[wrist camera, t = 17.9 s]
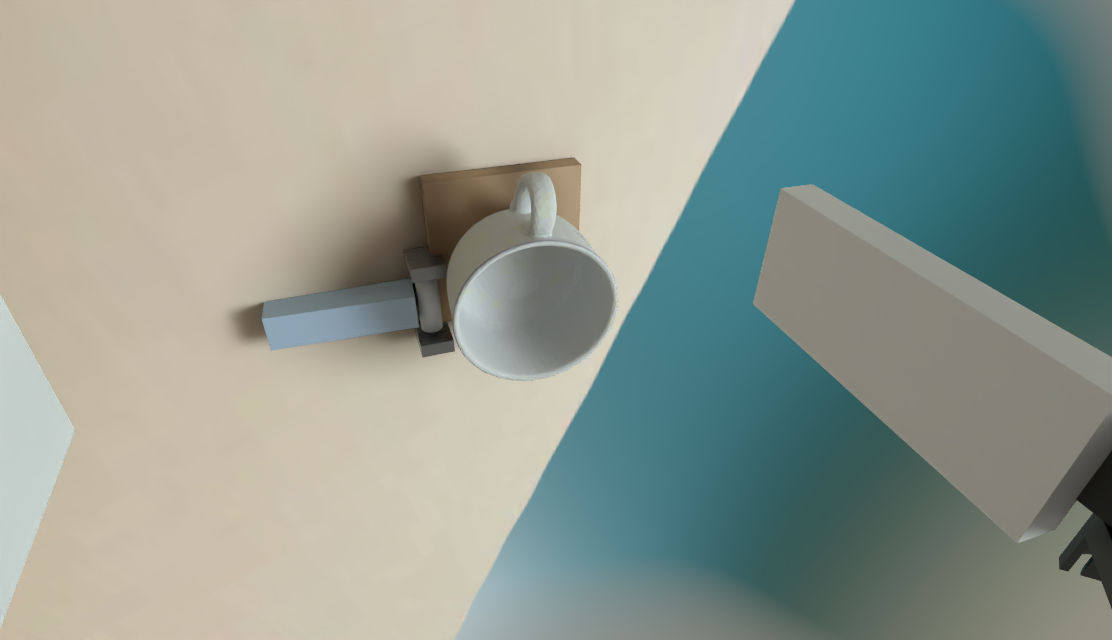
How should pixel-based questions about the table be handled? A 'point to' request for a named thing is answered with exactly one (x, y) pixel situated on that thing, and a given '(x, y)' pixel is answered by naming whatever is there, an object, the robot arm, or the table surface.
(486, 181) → the board
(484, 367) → the teacup
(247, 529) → the table surface
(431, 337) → the hinge cheek
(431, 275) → the hinge cheek
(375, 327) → the leg
